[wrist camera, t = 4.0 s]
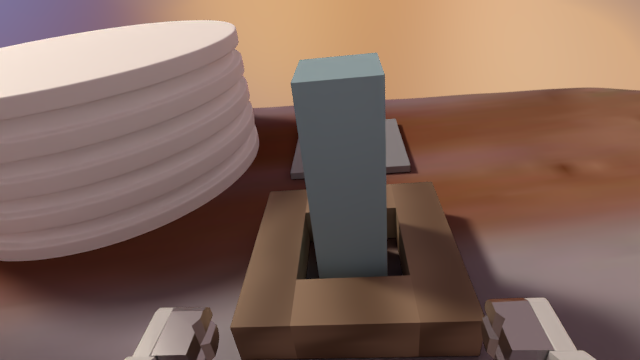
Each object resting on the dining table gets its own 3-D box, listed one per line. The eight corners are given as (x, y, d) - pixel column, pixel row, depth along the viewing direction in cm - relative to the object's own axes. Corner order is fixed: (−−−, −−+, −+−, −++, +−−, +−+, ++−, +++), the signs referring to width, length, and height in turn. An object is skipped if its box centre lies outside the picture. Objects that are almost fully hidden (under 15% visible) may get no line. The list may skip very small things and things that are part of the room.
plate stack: (-75, 193, 37) (-163, 80, 32) (170, 102, 55) (143, 19, 49) (1, 330, 21) (-151, 151, 15) (314, 138, 39) (300, 21, 33)
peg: (321, 296, 21) (290, 83, 14) (324, 251, 24) (299, 60, 17) (387, 294, 20) (384, 74, 14) (381, 249, 23) (376, 52, 17)
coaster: (291, 179, 32) (290, 173, 31) (301, 131, 40) (301, 126, 40) (410, 171, 31) (410, 165, 30) (395, 124, 39) (395, 118, 39)
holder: (241, 359, 18) (230, 327, 17) (276, 219, 27) (270, 191, 26) (479, 355, 17) (486, 320, 15) (429, 210, 26) (431, 181, 25)
